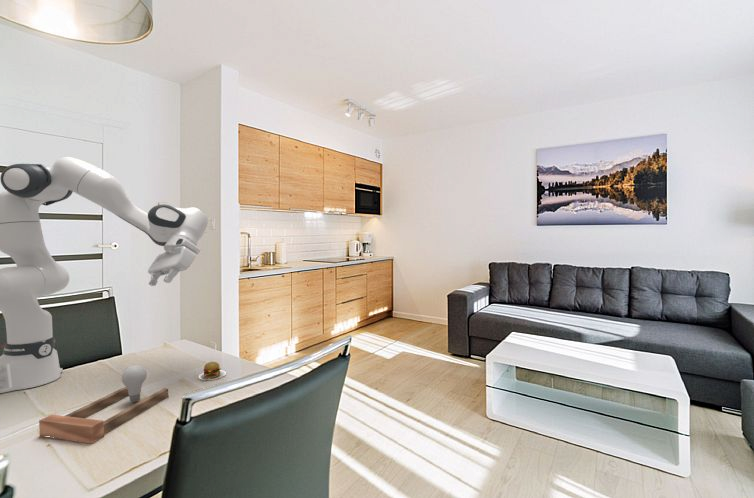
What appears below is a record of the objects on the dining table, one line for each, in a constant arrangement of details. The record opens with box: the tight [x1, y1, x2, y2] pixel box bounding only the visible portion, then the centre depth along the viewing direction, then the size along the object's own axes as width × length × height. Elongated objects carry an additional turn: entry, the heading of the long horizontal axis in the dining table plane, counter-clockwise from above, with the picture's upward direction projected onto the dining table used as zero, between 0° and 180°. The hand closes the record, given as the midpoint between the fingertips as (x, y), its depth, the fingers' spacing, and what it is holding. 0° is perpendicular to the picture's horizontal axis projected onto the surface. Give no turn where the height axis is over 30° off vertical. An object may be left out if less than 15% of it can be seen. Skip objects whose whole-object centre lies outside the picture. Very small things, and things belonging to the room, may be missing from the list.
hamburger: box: [198, 361, 227, 381], centre depth 128 cm, size 12×12×6 cm
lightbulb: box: [121, 364, 147, 403], centre depth 108 cm, size 6×6×11 cm
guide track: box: [38, 386, 169, 444], centre depth 100 cm, size 25×16×4 cm, turn 169°
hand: (158, 283), depth 119 cm, fingers open, 8 cm apart
